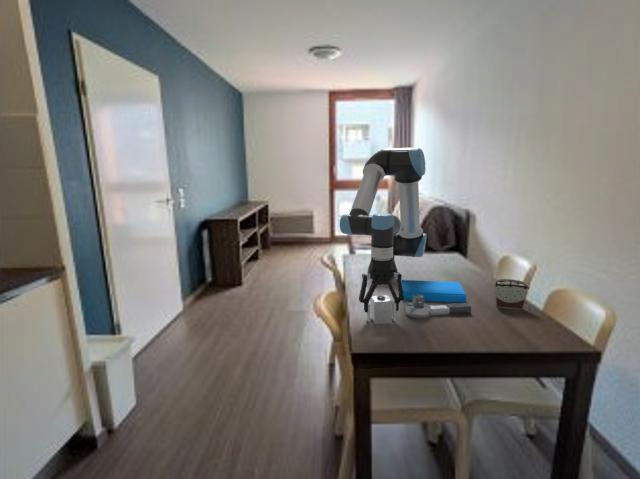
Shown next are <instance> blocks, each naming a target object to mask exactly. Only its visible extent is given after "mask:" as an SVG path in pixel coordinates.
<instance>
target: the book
mask: <svg viewBox="0 0 640 479" xmlns="http://www.w3.org/2000/svg"><path fill="white" fill-rule="evenodd" d="M401 284H402V289H403V295H404V300H405V301H413V295H422V296H423V297H424V302H442V303H443V302H445V303H467V293H466V291H465V290H464V288H463V286H462V285H461V283H460V282H459V281H439V280H437V281H435V280H415V279H414V280H412V279H411V280H409V279H408V280H407V279H401Z"/></svg>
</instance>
